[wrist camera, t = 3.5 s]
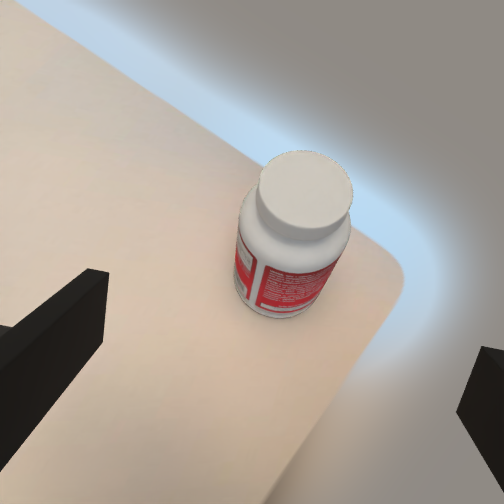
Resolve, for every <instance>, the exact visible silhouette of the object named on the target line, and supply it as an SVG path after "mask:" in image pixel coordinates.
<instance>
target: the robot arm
mask: <svg viewBox="0 0 504 504" xmlns="http://www.w3.org/2000/svg"><path fill="white" fill-rule="evenodd" d="M108 281H109V272H104V271H99V270H94V269H89V268H87V269H86V270H85V271H84V272H82V273H81V274H80V275H79V276H77V277H76V278H75V279H73V280H72V281H71V282H70V283H68V284H67V285H66V286H64V287H63V288H62V289H61V290H59V291H58V292H57V293H56V294H54V295H53V296H52V297H50V298H49V299H48V300H47V301H45V302H44V303H43V304H42V305H40V306H39V307H38V308H36V309H35V310H34V311H33V312H31V313H30V314H29V315H27V316H26V317H25V318H24V319H22V320H21V321H20V322H19V323H17V324H16V325H15V326H13V327H8V326H3V325H0V472H1V470H2V469H3V468H4V467H5V465H6V464H7V463H8V462H9V460H10V459H11V458H12V456H13V455H14V454H15V453H16V451H17V450H18V449H19V448H20V446H21V445H22V444H23V443H24V441H25V440H26V439H27V437H28V436H29V435H30V434H31V432H32V431H33V430H34V429H35V427H36V426H37V425H38V424H39V422H40V421H41V420H42V419H43V417H44V416H45V415H46V413H47V412H48V411H49V410H50V408H51V407H52V406H53V405H54V403H55V402H56V401H57V400H58V398H59V397H60V396H61V394H62V393H63V392H64V391H65V389H66V388H67V387H68V386H69V384H70V383H71V382H72V381H73V379H74V378H75V377H76V375H77V374H78V373H79V372H80V370H81V369H82V368H83V367H84V365H85V364H86V363H87V362H88V360H89V359H90V358H91V356H92V355H93V354H94V353H95V351H96V350H97V349H98V348H99V346H100V345H101V344H102V343H103V334H104V323H105V313H106V302H107V292H108ZM456 413H457V415H458V416H459V418H460V419H461V421H462V423H463V425H464V426H465V428H466V430H467V431H468V433H469V435H470V436H471V438H472V440H473V441H474V443H475V445H476V446H477V448H478V450H479V452H480V453H481V455H482V456H483V458H484V460H485V462H486V463H487V465H488V467H489V468H490V470H491V472H492V474H493V475H494V477H495V478H496V480H497V482H498V484H499V485H500V487H501V489H502V490H503V492H504V350H499V349H494V348H489V347H484V346H481V349H480V352H479V354H478V356H477V359H476V362H475V365H474V367H473V369H472V372H471V375H470V377H469V380H468V382H467V385H466V388H465V390H464V393H463V395H462V398H461V401H460V403H459V406H458V408H457V411H456Z"/></svg>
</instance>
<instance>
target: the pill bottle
mask: <svg viewBox="0 0 504 504" xmlns="http://www.w3.org/2000/svg"><path fill="white" fill-rule="evenodd" d="M352 200H353V188H352V184H351V181H350V178H349V177H348V175H347V173H346V172H345V170H344V169H343V168H342V167H341V166H339V164H337V162H335V161H333V160H332V159H330V158H329V157H327V156H325V155H322V154H319V153H316V152H312V151H302V150H301V151H298V150H297V151H290V152H286V153H283V154H281V155H278V156H277V157H275V158H273V159H272V160H271V161H269V163H268V164H267V165H266V166H265V167H264V169H263V170H262V172H261V174H260V178H259V182H258V183H257V184H256V185H255V186H254V187H253V188H252V189H251V190H250V191H249V192H248V194H247V195H246V197H245V198H244V200H243V203H242V206H241V209H240V214H239V223H238V234H237V243H236V254H235V264H234V281H235V286H236V289H237V291H238V293H239V295H240V297H241V298H242V299H243V301H244V302H245V303H246V304H247V305H248V306H249V307H250V308H252V309H253V310H255V311H256V312H258V313H260V314H263V315H265V316H269V317H274V318H286V317H291V316H295V315H297V314H299V313H301V312H303V311H305V310H306V309H307V308H309V307H310V306H311V305H312V304H313V302H314V301H315V300H316V298H317V297H318V295H319V293H320V292H321V290H322V288H323V286H324V284H325V283H326V281H327V279H328V277H329V276H330V274H331V272H332V270H333V268H334V267H335V265H336V263H337V261H338V259H339V258H340V256H341V254H342V252H343V251H344V249H345V247H346V244H347V242H348V239H349V236H350V229H351V222H350V215H349V209H350V206H351V204H352Z"/></svg>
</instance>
